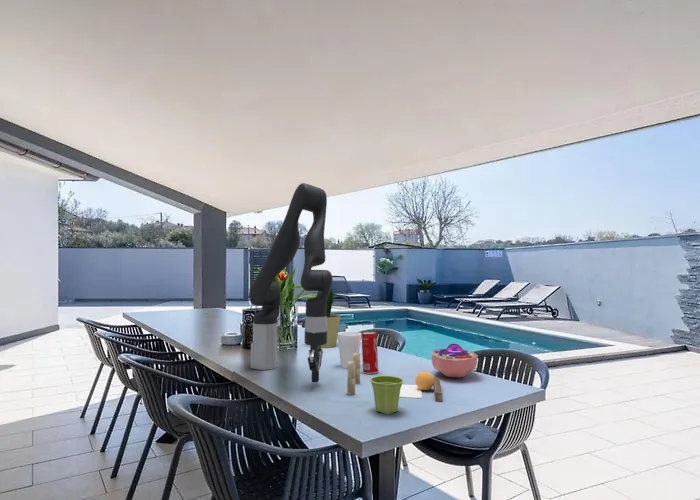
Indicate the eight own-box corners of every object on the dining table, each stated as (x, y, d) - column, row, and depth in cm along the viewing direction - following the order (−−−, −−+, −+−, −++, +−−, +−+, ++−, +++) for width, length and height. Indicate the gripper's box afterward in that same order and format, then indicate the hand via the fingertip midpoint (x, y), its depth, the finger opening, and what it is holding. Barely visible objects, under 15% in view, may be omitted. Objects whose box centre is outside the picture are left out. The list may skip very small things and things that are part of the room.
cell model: (425, 380, 163) (425, 348, 163) (436, 367, 182) (436, 339, 182) (474, 385, 157) (474, 352, 157) (480, 372, 175) (480, 342, 176)
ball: (414, 390, 148) (417, 372, 148) (413, 385, 154) (416, 367, 154) (432, 394, 147) (436, 376, 147) (431, 389, 153) (434, 371, 153)
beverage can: (377, 375, 169) (377, 334, 169) (359, 373, 170) (360, 333, 171) (379, 371, 175) (379, 331, 175) (362, 370, 176) (363, 330, 176)
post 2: (352, 383, 157) (352, 354, 157) (353, 381, 159) (353, 352, 159) (359, 384, 156) (359, 354, 157) (360, 382, 159) (360, 353, 159)
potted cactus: (304, 348, 218) (305, 284, 218) (312, 342, 233) (313, 283, 233) (336, 349, 215) (337, 285, 216) (342, 343, 230) (343, 283, 231)
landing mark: (376, 395, 143) (376, 395, 143) (379, 383, 157) (379, 383, 157) (421, 398, 141) (421, 397, 141) (421, 386, 155) (421, 385, 155)
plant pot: (367, 405, 134) (368, 375, 134) (399, 404, 135) (400, 375, 135) (372, 416, 125) (372, 384, 125) (406, 415, 126) (406, 383, 126)
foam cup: (343, 370, 176) (344, 336, 176) (333, 365, 184) (333, 332, 184) (365, 367, 180) (365, 334, 180) (354, 362, 188) (354, 331, 188)
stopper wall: (435, 401, 139) (435, 392, 139) (433, 385, 156) (433, 377, 157) (442, 401, 138) (442, 393, 138) (439, 385, 156) (439, 377, 156)
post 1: (346, 394, 144) (347, 362, 144) (347, 392, 146) (348, 361, 146) (354, 395, 144) (354, 363, 144) (355, 393, 146) (355, 361, 146)
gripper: (309, 326, 161) (308, 376, 160) (300, 332, 148) (299, 386, 147) (330, 327, 160) (330, 377, 159) (323, 333, 146) (322, 387, 146)
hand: (315, 381), depth 153 cm, fingers closed
